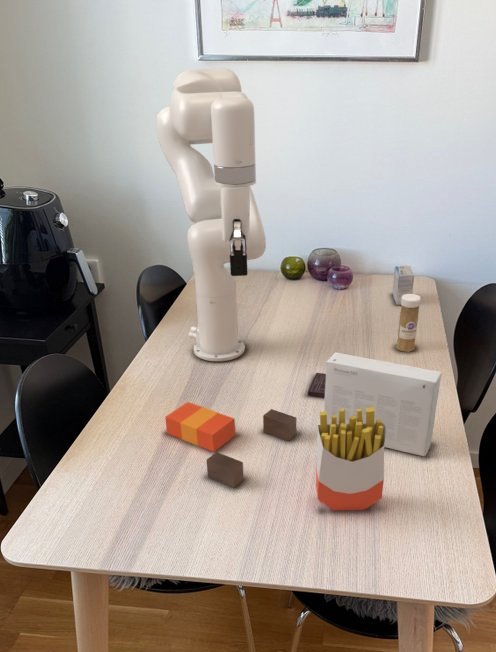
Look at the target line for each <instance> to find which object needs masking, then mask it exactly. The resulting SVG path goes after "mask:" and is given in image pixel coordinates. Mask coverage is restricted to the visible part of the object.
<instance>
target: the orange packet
mask: <svg viewBox="0 0 496 652" xmlns="http://www.w3.org/2000/svg"><path fill="white" fill-rule="evenodd" d="M164 419H165V427H166V434H167V435H170V436H172V437H175V438H177V439H180V440H182V441H185V442H187V443H189V444H193V445H194V446H197V447H200V448H203V449H205V450H207V451H210V452H213V453H216V452H217V451H218V450H219V449H220V448H221V447H222V446H224V445H225V444H226V443H228V442H229V441H231V439H233V438H234V437H235V436H236V419H235V418H234V417H232V416H228V415H226V414H223V413H220V412H218V411H215V410H212V409H210V408H207V407H205V406H204V407H203V406H200V405H198V404H195V403H192V402H189V401H187V402H185V403H184V404H182V405H181V406H179V407H178V408H176V409H175V410H173V411H172V412H170V413H168V414H167V415H166V416H165V417H164Z"/></svg>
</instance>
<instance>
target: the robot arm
mask: <svg viewBox="0 0 496 652" xmlns="http://www.w3.org/2000/svg"><path fill="white" fill-rule="evenodd" d="M171 91H172V93H171V96H170V101H169V106H166V107H164V108H163V109H161V110H160V111H159V112H158V113H157V116H156V123H155V127H156V133H157V137H158V138H157V139H158V143H159V145H160V148H161V151H162V153H163V155H164V157H165V159H166V161H167V163H168V164H169V166H170V168H171V170H172V171H173V172H174V174H175V176H176V179H177V183H178V188H179V191H180V195H181V199H182V203H183V206H184V210H185V213H186V215H187V217H188V218H189V220H190V221H191V222H193V224H192V225H191V226H190V227H189V229H188V231H187V234H186V238H187V239H186V242H187V246H188V247H187V248H188V250H189V255H190V259H191V264H192V270H193V278H194V279H193V281H194V290H195V303H196V315H197V326H195V325H192V326H191V327H190V331H189V332H188V335H187V336H188V337H189V338H191V339H195V341H196V342H195V343H194V345H193V353H194V355H195V356H196V357H197V358H199V359H201V360H204V361H207V362H227V361H232V360H235V359H237V358H239V357H241V356H242V355H243V354H244V353H245V350H246V344H245V342H244V341H242V340H241V339H240V338H239V325H238V323H239V321H238V301H237V283H236V279H235V277H245V276H246V277H247V276H248V261H251V260H257V259H259V258H261V257H262V256H263V255H264V254H265V251H266V247H267V240H266V239H267V238H266V233H265V229H264V225H263V221H262V219H261V216H260V215H261V214H260V212H259V208H258V205H257V202H256V199H255V195H254V192H253V189H252V187H251V186H254V185H255V184H257V173H256V131H255V130H256V129H255V128H256V126H255V106H254V103H253V102H252V100H250V99H249V97H248V96H247V95H246V94H245V93H244V92H243V91H242V85H241V81H240V79H239V76H238V75H237V74H236V72H234V70H231V69H230V68H225V67H223V68H222V67H221V68H197V69H196V68H195V69H187V70H184V71H182V72H181V73H179V74H178V75H177V76H176V78H175V79H174V81H173V84H172V89H171ZM204 144H205V145H206V144H207V145H208V144H212V155H213V166H212V164H211V162H210V161H209V160H208V159H207V158H206V157H205V156H204V155H203V154H202V153H201V152H200V151H199V150H197V149H195V148H194V147H192V146H193V145H204ZM225 264H229V267H230V268H229V269H230V270H229V269H228V268H227V267H226V266H225Z"/></svg>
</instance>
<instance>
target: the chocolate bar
mask: <svg viewBox="0 0 496 652" xmlns="http://www.w3.org/2000/svg"><path fill="white" fill-rule="evenodd" d="M325 384H326V373H322V372H316V373H315V375H314V377H313V380H312V381H311V384H310V386H309V388H308V391H307V396H308V397H309V396H310V397H317V398H323V399H324V398H325Z"/></svg>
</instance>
